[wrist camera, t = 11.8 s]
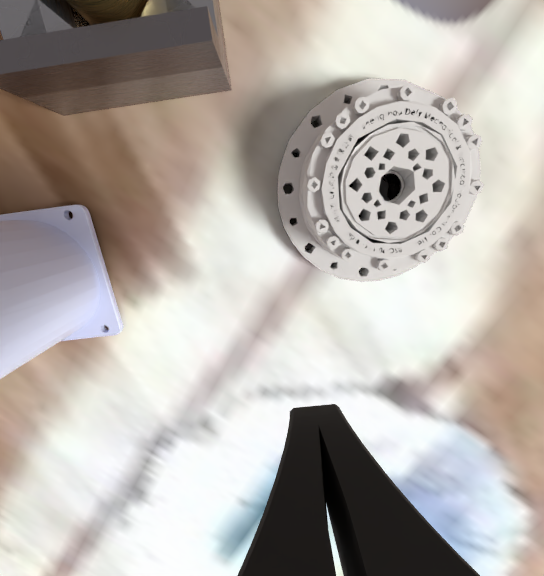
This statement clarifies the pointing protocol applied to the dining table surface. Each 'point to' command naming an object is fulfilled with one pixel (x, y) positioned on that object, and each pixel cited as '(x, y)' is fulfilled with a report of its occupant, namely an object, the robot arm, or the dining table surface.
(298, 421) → the robot arm
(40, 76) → the jig
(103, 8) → the brass cylinder rod
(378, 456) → the dining table surface
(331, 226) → the mechanical component
